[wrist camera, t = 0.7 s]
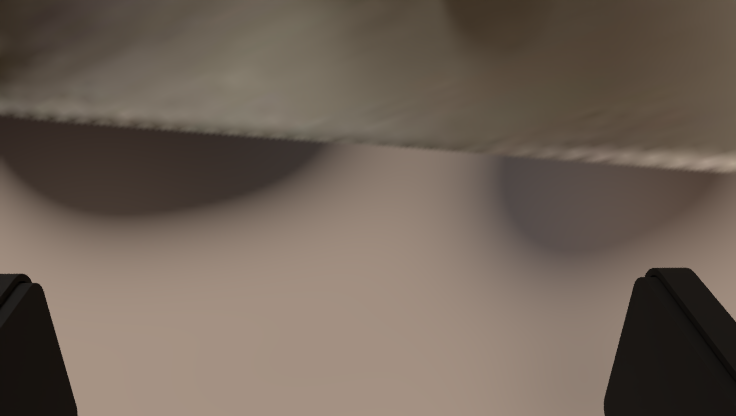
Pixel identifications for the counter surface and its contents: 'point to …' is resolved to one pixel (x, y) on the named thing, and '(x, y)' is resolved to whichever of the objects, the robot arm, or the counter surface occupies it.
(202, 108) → the counter surface
